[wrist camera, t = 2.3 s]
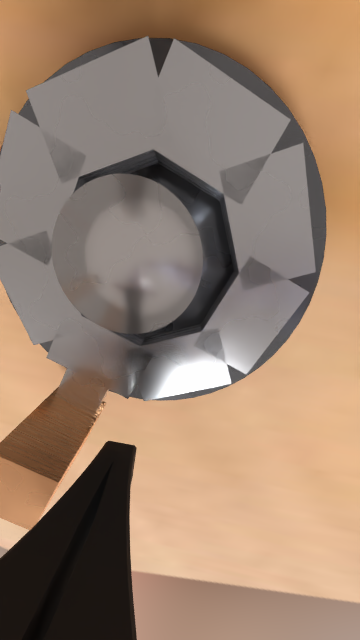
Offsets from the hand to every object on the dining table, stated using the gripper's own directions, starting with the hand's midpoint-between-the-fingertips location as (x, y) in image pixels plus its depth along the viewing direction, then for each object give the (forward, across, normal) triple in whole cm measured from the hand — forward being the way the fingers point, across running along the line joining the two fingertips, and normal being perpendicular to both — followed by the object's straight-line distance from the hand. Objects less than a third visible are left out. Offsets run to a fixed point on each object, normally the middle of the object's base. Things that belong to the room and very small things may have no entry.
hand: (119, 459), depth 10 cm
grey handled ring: (+2, +1, -7) cm, 7 cm away
